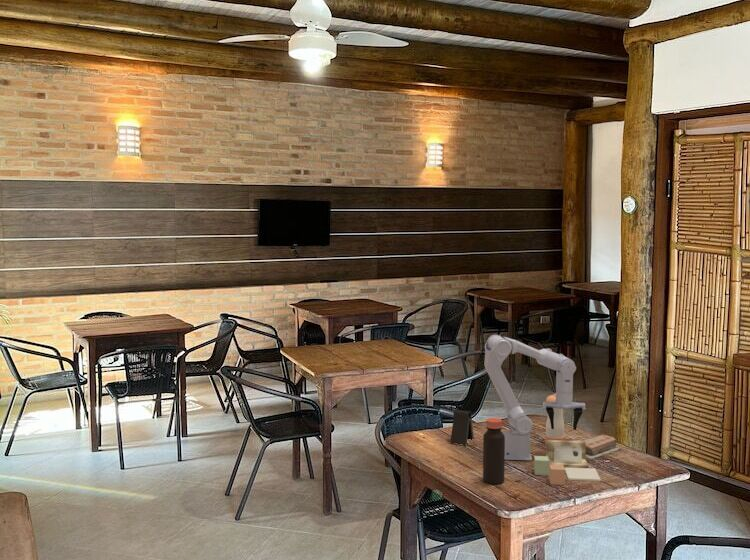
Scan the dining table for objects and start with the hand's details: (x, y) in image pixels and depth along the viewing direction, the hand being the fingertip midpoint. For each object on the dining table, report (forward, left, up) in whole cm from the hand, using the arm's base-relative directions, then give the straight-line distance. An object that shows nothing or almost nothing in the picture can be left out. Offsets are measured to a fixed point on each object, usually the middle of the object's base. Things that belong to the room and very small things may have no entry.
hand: (563, 428), depth 262 cm
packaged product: (+12, +5, -10) cm, 16 cm away
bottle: (-25, -28, -10) cm, 39 cm away
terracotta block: (-5, -27, -10) cm, 29 cm away
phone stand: (-35, +11, -10) cm, 38 cm away
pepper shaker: (-1, +11, -10) cm, 15 cm away
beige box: (0, -10, -9) cm, 14 cm away
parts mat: (+4, -20, -9) cm, 22 cm away
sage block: (-9, -19, -10) cm, 23 cm away
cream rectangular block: (0, -10, -8) cm, 13 cm away
